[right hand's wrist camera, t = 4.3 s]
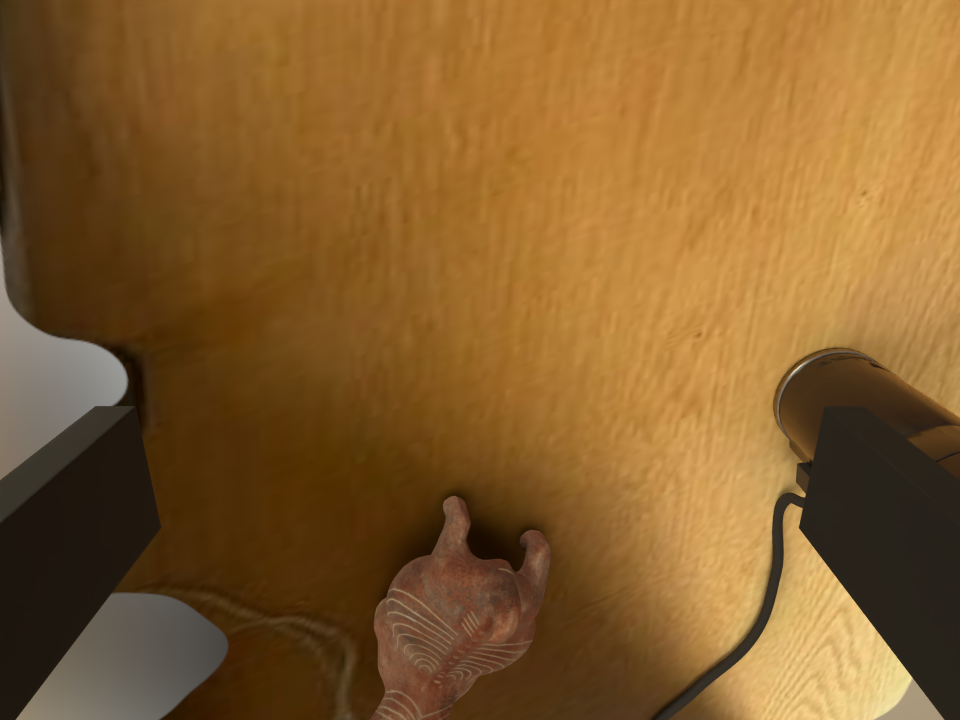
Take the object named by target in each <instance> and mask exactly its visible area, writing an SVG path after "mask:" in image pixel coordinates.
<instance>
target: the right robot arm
mask: <svg viewBox="0 0 960 720" xmlns="http://www.w3.org/2000/svg"><path fill="white" fill-rule="evenodd" d="M160 529H161V525H160V520H159V516H158V511H157V506H156V501H155V497H154V492H153V487H152V482H151V477H150V473H149V468H148V463H147V458H146V454H145V449H144V444H143V439H142V434H141V430H140V425H139V420H138V415H137V411H136V406H95V407H94V408H93V409H91V410H90V411H89V412H88V413H86V414H85V415H84V416H82V417H81V418H80V419H78V420H77V421H76V422H75V423H73V424H72V425H71V426H69V427H68V428H67V429H66V430H64V431H63V432H62V433H60V434H59V435H58V436H57V437H55V438H54V439H53V440H51V441H50V442H49V443H48V444H46V445H45V446H44V447H42V448H41V449H40V450H39V451H37V452H36V453H35V454H33V455H32V456H31V457H30V458H28V459H27V460H26V461H24V462H23V463H22V464H21V465H19V466H18V467H17V468H15V469H14V470H13V471H12V472H10V473H9V474H8V475H6V476H5V477H4V478H3V479H1V480H0V720H16V718H17V717H18V716H19V714H20V713H21V712H22V710H23V709H24V708H25V706H26V705H27V704H28V702H29V701H30V700H31V699H32V697H33V696H34V695H35V693H36V692H37V691H38V689H39V688H40V687H41V685H42V684H43V683H44V681H45V680H46V679H47V678H48V676H49V675H50V674H51V672H52V671H53V670H54V668H55V667H56V666H57V664H58V663H59V662H60V660H61V659H62V658H63V656H64V655H65V654H66V652H67V651H68V650H69V649H70V647H71V646H72V645H73V643H74V642H75V641H76V639H77V638H78V637H79V635H80V634H81V633H82V631H83V630H84V629H85V627H86V626H87V625H88V623H89V622H90V621H91V619H92V618H93V617H94V616H95V614H96V613H97V612H98V610H99V609H100V608H101V606H102V605H103V604H104V602H105V601H106V600H107V598H108V597H109V596H110V594H111V593H112V592H113V591H114V589H115V588H116V587H117V585H118V584H119V583H120V581H121V580H122V579H123V577H124V576H125V575H126V573H127V572H128V571H129V569H130V568H131V567H132V566H133V564H134V563H135V562H136V560H137V559H138V558H139V556H140V555H141V554H142V552H143V551H144V550H145V548H146V547H147V546H148V544H149V543H150V542H151V540H152V539H153V538H154V537H155V535H156V534H157V533H158V531H159V530H160ZM799 529H800V530H801V531H802V533H803V534H804V535H805V537H806V538H807V539H808V540H809V542H810V543H811V544H812V546H813V547H814V548H815V550H816V551H817V552H818V554H819V555H820V556H821V558H822V559H823V560H824V562H825V563H826V564H827V566H828V567H829V568H830V569H831V571H832V572H833V573H834V575H835V576H836V577H837V579H838V580H839V581H840V583H841V584H842V585H843V587H844V588H845V589H846V591H847V592H848V593H849V594H850V596H851V597H852V598H853V600H854V601H855V602H856V604H857V605H858V606H859V608H860V609H861V610H862V612H863V613H864V614H865V616H866V617H867V618H868V620H869V621H870V622H871V623H872V625H873V626H874V627H875V629H876V630H877V631H878V633H879V634H880V635H881V637H882V638H883V639H884V641H885V642H886V643H887V645H888V646H889V647H890V649H891V650H892V651H893V652H894V654H895V655H896V656H897V658H898V659H899V660H900V662H901V663H902V664H903V666H904V667H905V668H906V670H907V671H908V672H909V674H910V675H911V676H912V678H913V679H914V680H915V681H916V683H917V684H918V685H919V687H920V688H921V689H922V691H923V692H924V693H925V695H926V696H927V697H928V698H929V700H930V701H931V703H932V704H933V705H934V706H935V708H936V709H937V710H938V712H939V713H940V714H941V716H942V717H943V718H944V720H960V480H959V479H958V478H956V477H955V476H954V475H952V474H951V473H950V472H949V471H947V470H946V469H945V468H943V467H942V466H941V465H940V464H938V463H937V462H936V461H934V460H933V459H932V458H930V457H929V456H928V455H927V454H925V453H924V452H923V451H921V450H920V449H919V448H918V447H916V446H915V445H914V444H912V443H911V442H910V441H909V440H907V439H906V438H905V437H903V436H902V435H901V434H900V433H898V432H897V431H896V430H894V429H893V428H892V427H891V426H889V425H888V424H887V423H885V422H884V421H883V420H882V419H880V418H879V417H878V416H876V415H875V414H874V413H873V412H871V411H870V410H869V409H867V408H866V407H865V406H824V410H823V415H822V420H821V425H820V430H819V434H818V439H817V444H816V449H815V454H814V458H813V463H812V468H811V473H810V477H809V482H808V487H807V492H806V497H805V501H804V506H803V511H802V516H801V520H800V525H799Z"/></svg>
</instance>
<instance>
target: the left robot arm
mask: <svg viewBox="0 0 960 720" xmlns="http://www.w3.org/2000/svg"><path fill="white" fill-rule="evenodd" d="M877 363H878V362H877ZM877 363H876V361H874V360H873V359H871V358H870V357H868V356H866V355H865V354H863V353H861V352H858V351H855V350H851V349H845V348H833V349H827V350H823V351H819V352H816V353H814V354H812V355H810V356H808V357H806V358H804V359H803V360H801V361H800V362H798V363H797V364H796V365H795V366H794V367H792V368H791V369H790V371H789V372H788V373H787V374H786V375H785V376H784V378H783V379H782V381H781V383H780V385H779V387H778V389H777V392H776V395H775V399H774V415H775V419H776V421H777V424H778V426H779V428H780V429H781V430H782V432H783V433H784V434H785V435H786V436H787V437H788V438H789V439H790V448H791V449H792V450H793V451H794V453H795V454H796V455H797V456H798V457H799V458H800V459H801V460H802V461H803V462H804V463H798V464H797V473H796V483H797V484H798V485H799V486H800V487H801V488H802V490H803V491H804V492H805V493H806V492H807V487H808V482H809V477H810V473H811V468H812V463H813V458H814V454H815V449H816V444H817V439H818V434H819V430H820V425H821V420H822V415H823V410H824V406H865V407H866V408H867V409H869V410H870V411H871V412H873V413H874V414H875V415H876V416H878V417H879V418H880V419H882V420H883V421H884V422H885V423H887V424H888V425H889V426H891V427H892V428H893V429H894V430H896V431H897V432H898V433H900V434H901V435H902V436H903V437H905V438H906V439H907V440H909V441H910V442H911V443H912V444H914V445H915V446H916V447H918V448H919V449H920V450H921V451H923V452H924V453H925V454H927V455H928V456H929V457H930V458H932V459H933V460H934V461H936V462H937V463H938V464H940V465H941V466H942V467H943V468H945V469H946V470H947V471H949V472H950V473H951V474H952V475H954V476H955V477H956V478H958V479H959V480H960V417H958V416H957V415H955V414H954V413H952V412H951V411H949V410H947V409H946V408H944V407H943V406H941V405H940V404H938V403H937V402H935V401H934V400H932V399H930V398H929V397H927V396H926V395H924V394H923V393H921V392H920V391H918V390H917V389H915V388H913V387H912V386H910V385H909V384H907V383H906V382H904V381H903V380H901V379H900V378H898V376H897V377H896V376H895V374H894V373H893V374H894V375H893V374H892V372H891V371H890V372H891V373H890V372H889V371H887V370H888V369H887V370H886V369H884V368H885V367H884V368H883V367H881V366H882V365H881V364H880V365H881V366H880V365H878V364H879V363H878V364H877ZM804 501H805V498H803V497H800V496H798V495H796V494H794V493H786V494H784V495H782V496H781V497H780V498H779V499H778V501H777V503H776V505H775V508H774V514H773V526H772V538H773V564H772V570H771V574H770V578H769V583H768V587H767V592H766V596H765V600H764V604H763V607H762V610H761V613H760V615H759V617H758V619H757V621H756V623H755V625H754V627H753V628H752V630H751V631H750V633H749V634H748V636H747V637H746V638H745V640H744V641H743V642H742V643H741V644H740V645H739V646H738V648H737V649H736V650H734V651H733V652H732V653H731V654H730V655H729V656H728V657H727V658H725V659H724V660H723V661H722V662H720V663H719V664H718V665H717V666H715V667H714V668H713V669H711V670H710V671H709V672H708V673H707V674H705V675H704V676H703V677H702V678H701V679H699V680H698V681H697V682H696V683H695V684H694V685H693V686H692V687H691V688H690V689H689V690H688V691H686V692H685V693H684V694H683V695H682V696H681V697H679V698H678V699H677V700H676V701H674V702H673V703H672V704H671V705H669V706H668V707H667V708H666V709H664V710H663V711H662V712H661V713H660V714H659V715H658V716H657V717H656V718H655V719H654V720H668V719H669V718H670V717H672V716H673V715H674V714H675V713H677V712H678V711H679V710H681V709H682V708H683V707H684V706H686V705H687V704H688V703H689V702H690V701H692V700H693V699H694V698H695V697H696V696H697V695H698V694H699V693H700V692H702V691H703V690H704V689H705V688H706V687H707V686H708V685H709V684H711V683H712V682H713V681H714V680H716V679H717V678H718V677H719V676H721V675H722V674H723V673H725V672H726V671H727V670H728V669H730V668H731V667H732V666H733V665H735V664H736V663H737V662H738V661H739V660H740V659H741V658H742V657H743V656H744V655H745V654H746V653H747V652H748V651H749V650H750V649H751V648H752V646H753V645H754V644H755V642H756V641H757V640H758V638H759V637H760V635H761V633H762V632H763V630H764V628H765V626H766V624H767V622H768V620H769V617H770V615H771V612H772V609H773V606H774V602H775V598H776V594H777V590H778V586H779V581H780V577H781V573H782V568H783V556H784V549H783V515H784V511H785V509H786V507H787V506H788V505H789V504H790V503H792V504H794V505H796V506H799V507H801V508H803V506H804Z"/></svg>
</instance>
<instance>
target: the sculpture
mask: <svg viewBox="0 0 960 720" xmlns="http://www.w3.org/2000/svg"><path fill="white" fill-rule="evenodd" d="M443 510H444V513H445V516H446V520H445V524H444V527H443V530H442V532H441V534H440V537H439V539H438V542H437V544H436V546H435V548H434V550H433V552H432V554H431V555H427V556H422V557H419V558H416V559H414V560H412V561H411V562H409V563H408V564H406V565H405V566H404V567H403V568H402V569H401V570H400V572H399V573H398V574H397V575H396V577H395V578H394V580H393V581H392V582H391V585H390V587H389V590H388V594H387V597H386V598H385V599H383V600H382V601H381V602H380V603H379V605H378V606H377V608H376V612H375V619H374V629H375V633H376V636H377V640H378V670H379V673H380V675H381V678H382V680H383V683H384V686H385V695H384V697H383V699H382V701H381V703H380V705H379V707H378V709H377V710H376V712H375V713H374V714H373V716H372V718H371V720H449V718H450V711H451V708H452V705H453V704H454V702H455V701H457V700H458V699H459V698H460V697H462V696H463V695H464V694H465V693H466V692H467V691H468V690H469V689H470V687H471V686H472V685H473V683H474V682H475V681H476V679H477V678H478V677H479V676H480V675H484V674H489V673H492V672H495V671H498V670H501V669H503V668H505V667H507V666H509V665H510V664H512V663H513V662H515V661H516V660H517V659H519V658H520V657H521V656H523V654H524V653H525V652H526V651H527V650H528V648H529V647H530V645H531V643H532V640H533V639H534V634H535V619H534V617H535V616H536V615H537V614H538V612H539V609H540V607H541V604H542V602H543V598H544V593H545V588H546V583H547V577H548V573H549V567H550V561H551V550H550V546H549V543H548V542H547V540H546V539H545V537H544V536H543V534H542V533H541V532H540V531H536V530H528V531H527V532H525V533H524V534H523V535H522V536H521V537H520V544H521V546H522V548H523V549H524V550H526V556H525V560H524V563H523V566H522V567H521V569H520V570H519V571H518V572H515V571H514V570H513V569H512V567H511V565H510V563H509V562H508V561H506V560H502V559H491V560H482V559H479V558H477V557H476V556H474V555H473V554H472V553H471V551H470V549H469V546H468V544H467V535H468V531H469V528H470V525H471V521H470V516H469V512H468V509H467V505H466V502H465V501H464V500H463V499H461V498H459V497H456V496H451V497H449V498H447V499H446V500H445V501H444V504H443Z"/></svg>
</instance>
